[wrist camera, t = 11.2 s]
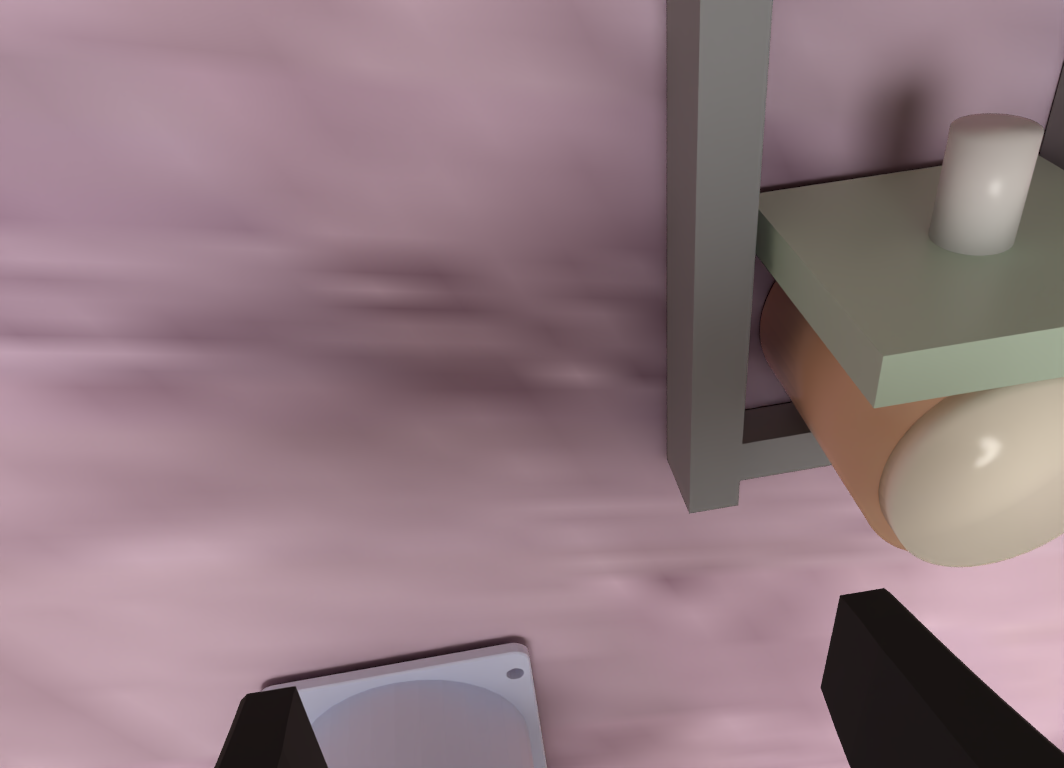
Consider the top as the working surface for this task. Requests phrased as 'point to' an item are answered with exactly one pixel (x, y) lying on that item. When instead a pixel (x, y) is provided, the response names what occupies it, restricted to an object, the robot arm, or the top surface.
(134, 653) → the top surface
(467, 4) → the top surface
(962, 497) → the terracotta jar
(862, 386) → the pusher paddle
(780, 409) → the pusher lane
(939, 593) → the top surface
